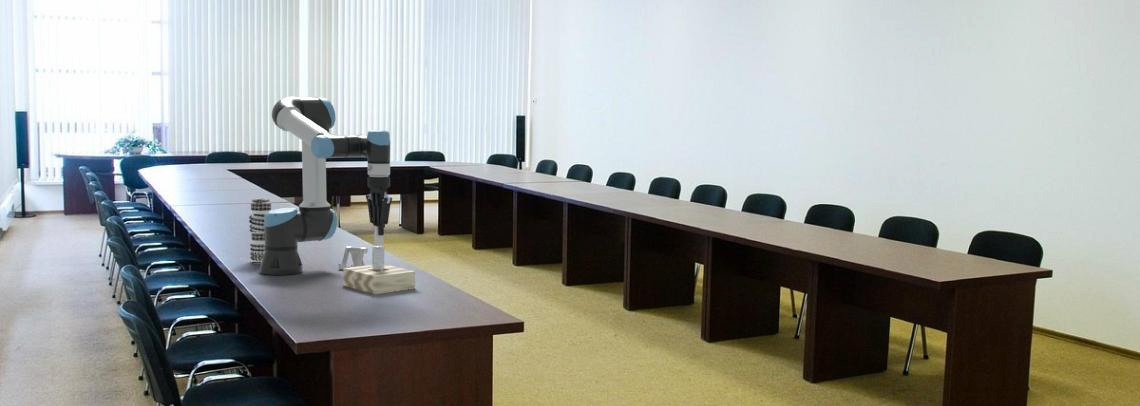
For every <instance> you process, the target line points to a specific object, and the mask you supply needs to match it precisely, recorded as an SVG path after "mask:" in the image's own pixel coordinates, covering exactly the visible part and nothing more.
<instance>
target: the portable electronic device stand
mask: <svg viewBox="0 0 1140 406" xmlns="http://www.w3.org/2000/svg"><path fill="white" fill-rule="evenodd" d="M368 252H369V251H368V248H367V247H361V246H360V247H359V246H351V245H350V246H348V245H347V246H346V247H345V250H344V254H343V256H342V262H341V263H338V265H337V266H338V267H337V268H338V270H340V271H343V268H350V267H358V266H365V263H364V256H365V254H367V253H368ZM349 255H350V257H351V260H352V263H353V264H351V265H350V266H347V263H348V259H349Z"/></svg>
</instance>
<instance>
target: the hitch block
mask: <svg viewBox="0 0 1140 406" xmlns="http://www.w3.org/2000/svg"><path fill="white" fill-rule="evenodd" d="M349 267H350V268H343V270H342V285H343V286H344V287H348V288H350V289H355V290H358V291H361V292H366V293H369V294H372V295H379V294H380V295H381V294H386V293H387V294H388V293H395V292H401V290H402V291H408V289H409V290H414V288H415V289H416V271H415V270H411V269H407V268H402V267H399V266H393V265H390V264H386V263H384V271H379V272H375V271H373V264H370V265H369V264H368V265H364V266H358V267H351V266H349ZM394 291H395V292H394Z"/></svg>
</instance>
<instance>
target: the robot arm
mask: <svg viewBox="0 0 1140 406" xmlns="http://www.w3.org/2000/svg"><path fill="white" fill-rule="evenodd" d="M271 119H272V122H273V123H274V125H275V126H277V128H279V129H280V130H281V131H284V132H286V133H287V132H289V133H291V134H292V135H293V136H295V137H296V138H298V139H300V140H301V161H302V163H301V164H302V165H301V166H302V168H301V169H302V202H301V203H300V204H299V205H298V209H297V208H296V207H281V208H275V209H271V211H269V212H267V213H266V214H265V220H264V233H265V253H264V256H263V259H262V262H261V263H260V266H259V272H260V274H262V275H268V276H270V275H271V276H284V275H287V276H288V275H297V274H299V273H303V268H304V267H303V263H302V259H301V257H300V254H299V251H298V243H303V242H304V243H305V242H306V243H307V242H316V241H318V242H321V241H326V240H330V239H331V238H333V236H334V235H335V233H336V231H337V228H338V216H337V213H336V211H335V210H334V209H332V207H331V206H332V205H331V204H330V203H329V202H328V200H327V167H326V166H327V159H334V158H335V159H336V158H337V159H340V158H367V175H368V176H367V188H369V189H370V191H369V194H366V195H365V199H366V202H367V209H368V216H369V217H368V218H369V222H370V223H371V224H372V225H373V234H374V235H373V238H374V239H373V240H374V242H373V243H374V245H373V246H384V236H385V230H384V229H385V226H386V225H388V224H389V217H390V212H391V211H390V210H391V204H392V201H393V197H389V193H388V188H390V187H391V178H390V175H391V136H390V132H389V131H388V130H374V129H373V130H368V131H367V135H365V134H356V135H335V134H332V133H330V130H331V129H332V128H333V127H334V126H335V123H336V111H335V108H334V106H333V104H332V102H331V101H330V100H329V99H328V98H325V97H319V96H314V97H313V96H286V97H283V98H281V99H280V100H278V101H277V102H276V103H275V104H274V106H273V108H272V111H271Z"/></svg>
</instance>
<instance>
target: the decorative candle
mask: <svg viewBox="0 0 1140 406" xmlns="http://www.w3.org/2000/svg"><path fill="white" fill-rule="evenodd" d="M249 203H250V215H249V216H248V219H249V221H248V223H250V225H249V228H250V229H249V233H251V238H250V244H249V246H250V251H251V252H250V253H249V254H250V257H249V258H250V259H251V260H250V263H252V262H262V259H263V256H264V253H265V233H264V220H265V214H266V213H267V212H269V211H271V210H272V201H271V200H270V199H269V198H267V197H256V198H253V199H252V200H251V201H250V202H249Z"/></svg>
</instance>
